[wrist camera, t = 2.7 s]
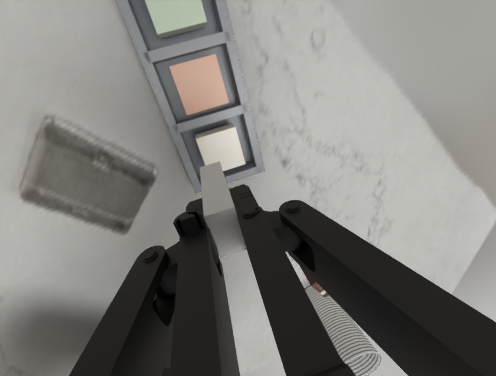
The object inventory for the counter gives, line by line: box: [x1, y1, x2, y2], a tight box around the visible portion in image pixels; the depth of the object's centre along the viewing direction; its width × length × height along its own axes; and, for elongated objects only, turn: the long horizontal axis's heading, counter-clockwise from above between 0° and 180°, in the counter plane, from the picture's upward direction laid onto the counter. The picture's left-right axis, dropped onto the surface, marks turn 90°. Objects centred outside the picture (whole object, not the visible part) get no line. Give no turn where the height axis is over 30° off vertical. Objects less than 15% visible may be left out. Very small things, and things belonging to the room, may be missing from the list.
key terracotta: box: [169, 54, 229, 115], centre depth 25 cm, size 5×5×2 cm
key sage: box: [145, 0, 207, 39], centre depth 21 cm, size 5×5×2 cm
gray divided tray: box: [116, 0, 265, 193], centre depth 27 cm, size 10×25×4 cm, turn 14°
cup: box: [305, 285, 381, 376], centre depth 44 cm, size 8×8×16 cm
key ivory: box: [195, 123, 246, 171], centre depth 28 cm, size 5×5×2 cm
